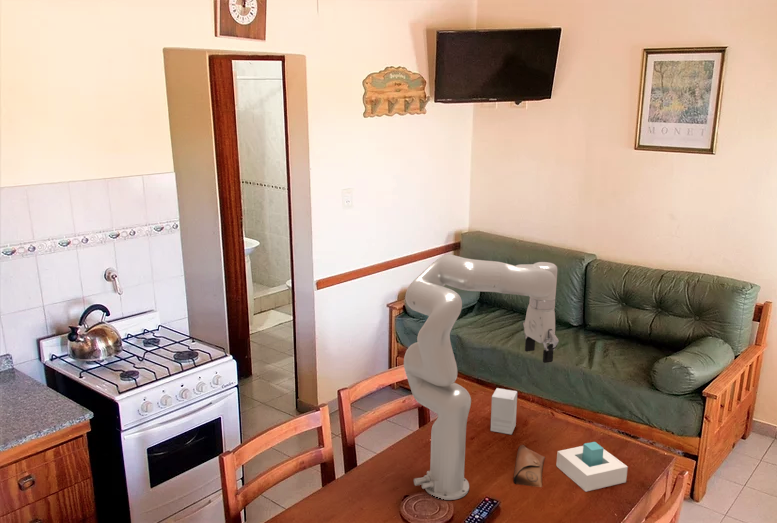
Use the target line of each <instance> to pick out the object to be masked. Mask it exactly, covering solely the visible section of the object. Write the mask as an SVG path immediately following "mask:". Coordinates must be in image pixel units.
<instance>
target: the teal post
mask: <svg viewBox="0 0 777 523" xmlns="http://www.w3.org/2000/svg"><path fill="white" fill-rule="evenodd" d="M582 446H583V456H582V461H583V462H584V463H585V464H586V465H588V466H589V467H592V466H596V465H601V464H602V460H603V450H604V447H603V446H601V444H598V443H597V442H596V441H591V442H585V443H583V445H582Z"/></svg>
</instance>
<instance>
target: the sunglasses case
mask: <svg viewBox="0 0 777 523" xmlns="http://www.w3.org/2000/svg"><path fill="white" fill-rule="evenodd" d="M545 459H546V456H544V455H541V454H539V453H538V452H535V451H533V450H532V449H530V448H528V447H526V446H525V445H524V444H520V446H518V449H517V453H516V459H515V465H514V466H515V467H514V473H513V483H514V484H515V485H520V486H522V485H523V486H529V487H536V488H542V487H543V468H544V461H545Z"/></svg>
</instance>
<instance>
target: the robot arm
mask: <svg viewBox="0 0 777 523" xmlns="http://www.w3.org/2000/svg"><path fill="white" fill-rule="evenodd" d="M557 280H558V265H556V264H555V263H553V262H547V261H538V262H534V263H533V264H532V263H529V264H526V263H525V264H524V263H523V264H522V263H521V264H516V265H513V264H510V263H506V262H502V261H498V260H497V261H494V260H483V259H473V258H467V257H462V256H459V255H454V254H448V253H446V254H444V255H442V256H440V257H438V258H437V259H436V260H435V261H433V262H432V263H431V264H430V265H428V267H426V268H425V270H423V271H422V272H420V274H419V275H418V276H417V277H416V278H415V279H414V280H413V281H411V283H410V284H409V286H408V287H407V289H406V292H405V297H404V298H405V302H406V305H407V306H408V308H410V309H411V310H412V311H414V312H416V313H419V314H422V315H425V316H427V319H426V321H425V322H424V323H423V325H422V326H421V328H420V330H419V331H418V333H417V338H416V339H417V340H416V341H417V342H414V343H412V344H410V346H408V348H407V349H406V351H405V354H404V356H403V369H404V372H405V375H406V378H407V382H408V385H409V388H410V390H411V391H410V392H411V393H412V396H413V398H414V399H415V401H416V402H417V403H418V404H420V405H421V406H423V407H424V408H426V409H428V410H430V411H432V412H433V413H435V414H436V415H437V419H436V420H435V421H434V422H433V424H432V427H431V432H430V433H431V434H430V436H431V437H430V461H429V462H430V466H429V467H430V468H429V470H427V471H426V474H425V475H423V477H415V478H413V485H414V486H415V487H416V486H420V485H421V488H422V489H423V490H424V489H425V491H426V492H427V494H429V495H430V494H431V495H430V496H432V495H433V496H435V497H434V498H436V497H438V498H437V499H439V498H441V499H440V500H443V499H444V500H445V501H452V500H458V499H462V498H464V497H465V496H466V495H468V493H469V490H470V483H469V481H468V480H467V478H465V462H466V460H465V459H466V441H467V440H466V439H467V438H466V436H467V422H468V417H469V412H470V409H471V403H472V398H471V395H470V393H469V391H468V390H467V389H466V388H465V387H463V386H462V385H460V384H458V382H457V383H456V380H457V378H458V367H457V366H458V365H457V361H456V359H455V358H456V357H455V354H454V350H453V347H452V342H451V338H450V336H451V331H452V329H453V327H454V325H455V323H456V322H457V320H458V318H459V316H460V314H461V312H462V308H463V301H462V298H461V296H460V294H459V293H457V292H456V291H455V290H453V289H451V288H455V289H458V290H462V291H466V292H467V291H469V292H489V293H498V294H499V293H500V294H503V295H504V294H506V295H507V294H508V295H516V296H517V295H518V296H525V297H529V302H528V303H529V304H528V305H527V309H526V313H525V314H526V315H525V320H524V321H523V323H522V324H523V332H524V339H525V344H524V351H525V352H527V353H528V352H533V351H535V350H536V349H535V347H536V342H537V343H539V344H543V348H544V349H543V351H542V352H543V354H542V363H544V364H549V363H552V362H553V359H554V351H555V350H556V348H557V346H558V344H559V338H558V337H557V335H556V312H555V308H556V307H555V306H556V294H557ZM445 286H449V287H451V288H449V287H445ZM433 496H432V497H433Z"/></svg>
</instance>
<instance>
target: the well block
mask: <svg viewBox="0 0 777 523" xmlns="http://www.w3.org/2000/svg"><path fill="white" fill-rule="evenodd" d="M556 452H557V454H556V467H557V468H558V469H559V470H560V471H561V472H563V474H565V475H566V476H567V478H569V479H570V480H571V481H573V482H574V483H575V484H576V485H577V486H578V487H579V488H581V489H582V490H583V491H584V492H590V491H594V490H599V489H602V488H603V489H604V488H606V487H611V486H616V485H620V484H625V483H627V478H628V477H627V476H628V468H629V466H627V465H626V464H625V463H623V462H622V461H621V460H619V459H618V458H617V457H616V456H614V455H613V454H612V453H610V452H609V451H607V450H606V449H604V450H603V460H602V464H601V465H596V466H592V467H589V466H588V465H586V464H585V463H584V462H583V461H582V456H583V445H580V446H576V447H571V448H567V449H566V448H564V449H562V450H557V451H556Z"/></svg>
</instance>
